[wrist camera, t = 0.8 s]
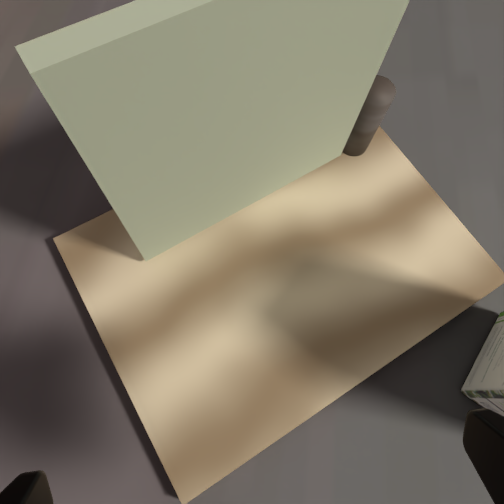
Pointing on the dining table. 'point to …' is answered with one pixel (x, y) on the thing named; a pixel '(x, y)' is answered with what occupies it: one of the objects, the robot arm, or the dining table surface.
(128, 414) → the dining table surface
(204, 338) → the door stand
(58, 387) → the dining table surface
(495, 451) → the robot arm
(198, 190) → the door
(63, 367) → the dining table surface
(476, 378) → the syrup box
